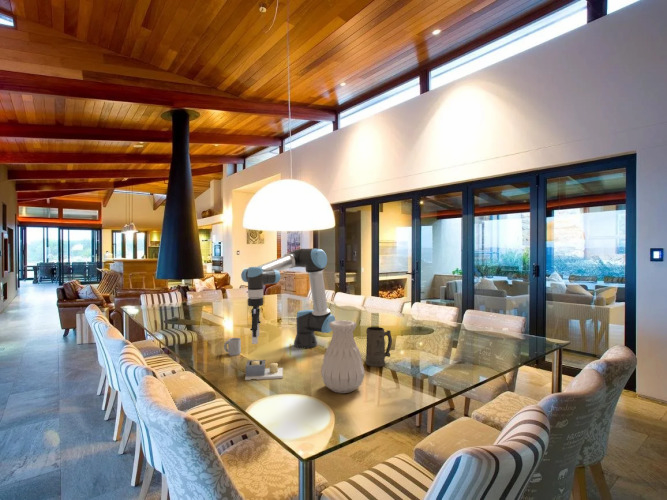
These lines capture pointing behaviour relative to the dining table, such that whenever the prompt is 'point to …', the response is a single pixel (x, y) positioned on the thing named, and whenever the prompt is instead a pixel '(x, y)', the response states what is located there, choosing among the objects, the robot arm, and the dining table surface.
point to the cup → (233, 346)
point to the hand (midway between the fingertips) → (255, 339)
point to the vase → (342, 359)
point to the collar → (255, 368)
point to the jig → (268, 372)
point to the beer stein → (377, 346)
